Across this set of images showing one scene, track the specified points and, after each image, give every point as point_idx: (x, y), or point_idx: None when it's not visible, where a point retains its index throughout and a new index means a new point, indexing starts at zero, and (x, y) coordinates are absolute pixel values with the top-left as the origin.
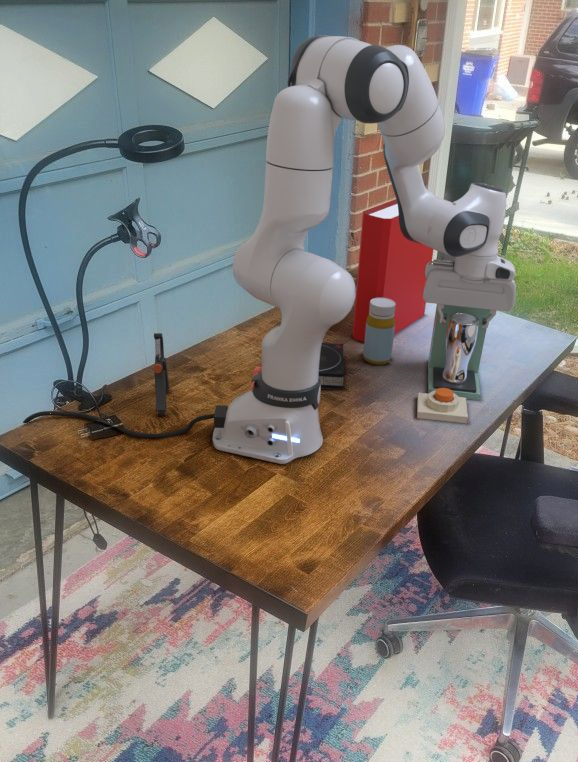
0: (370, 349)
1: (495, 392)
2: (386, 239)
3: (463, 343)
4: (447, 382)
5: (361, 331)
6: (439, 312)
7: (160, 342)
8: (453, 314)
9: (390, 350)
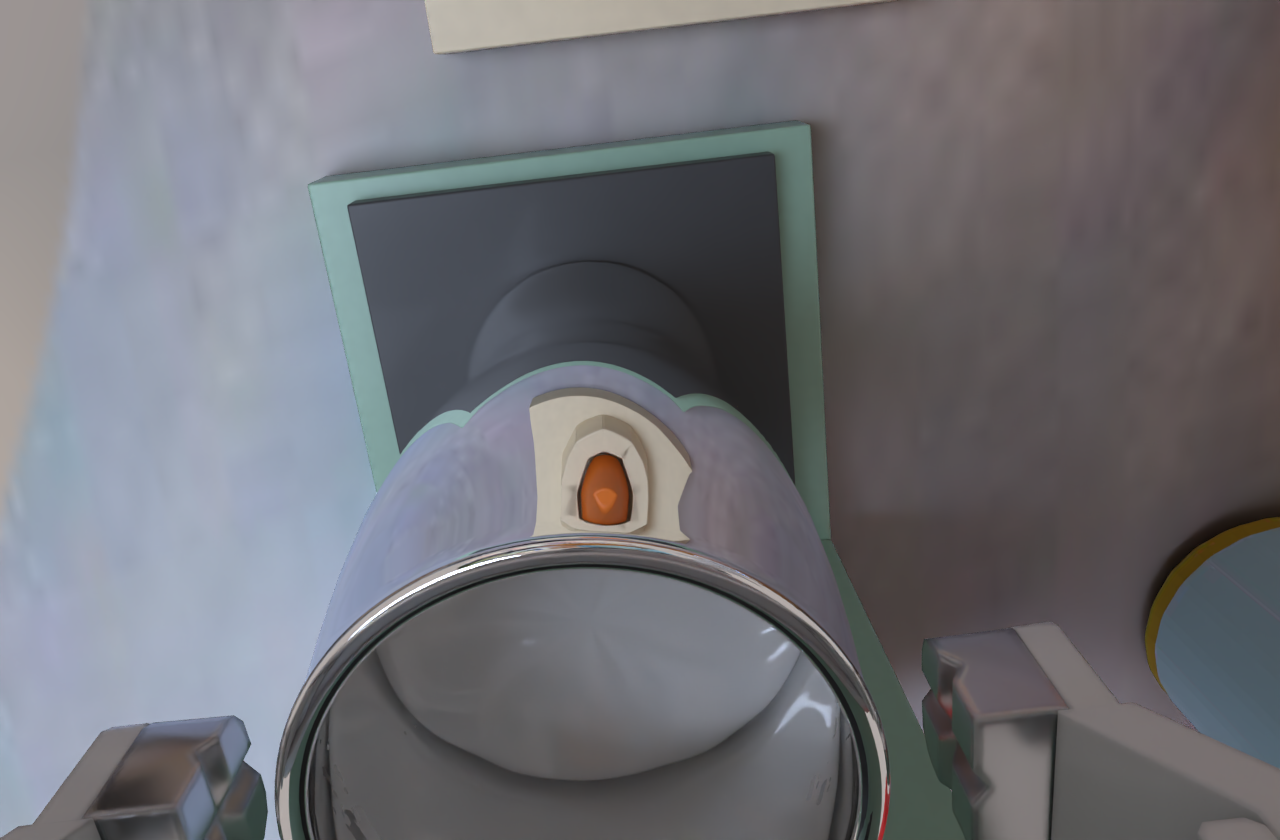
0: None
1: (212, 383)
2: None
3: (530, 380)
4: (646, 272)
5: None
6: (1211, 742)
7: None
8: None
9: (1218, 643)
